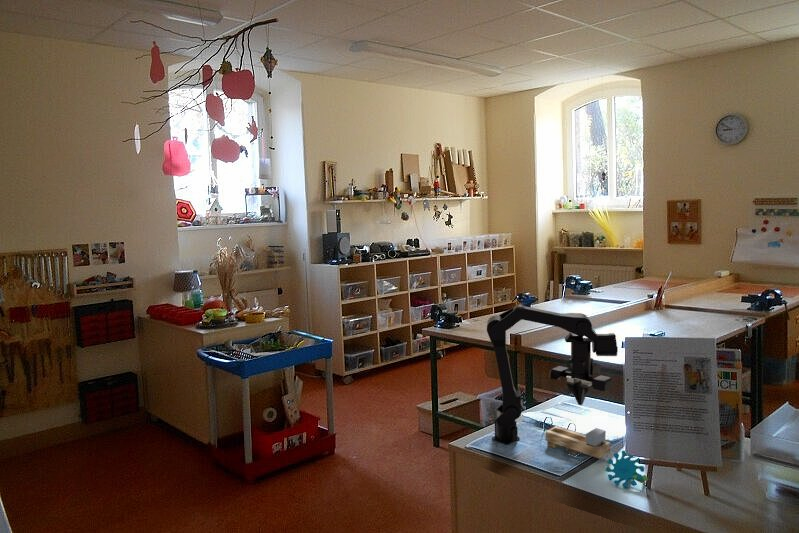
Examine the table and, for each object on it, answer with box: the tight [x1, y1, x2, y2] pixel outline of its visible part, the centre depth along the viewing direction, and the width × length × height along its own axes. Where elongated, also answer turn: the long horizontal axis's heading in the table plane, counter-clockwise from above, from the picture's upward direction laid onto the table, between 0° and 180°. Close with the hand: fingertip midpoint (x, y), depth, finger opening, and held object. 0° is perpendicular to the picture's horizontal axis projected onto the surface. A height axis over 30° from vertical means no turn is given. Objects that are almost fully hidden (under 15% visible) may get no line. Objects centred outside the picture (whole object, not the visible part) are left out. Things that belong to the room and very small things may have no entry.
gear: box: [605, 450, 649, 489], centre depth 162 cm, size 11×6×10 cm
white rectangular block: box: [585, 427, 606, 446], centre depth 175 cm, size 3×6×4 cm, turn 133°
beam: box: [544, 425, 611, 459], centre depth 180 cm, size 18×6×5 cm, turn 43°
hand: (580, 404), depth 185 cm, fingers closed
